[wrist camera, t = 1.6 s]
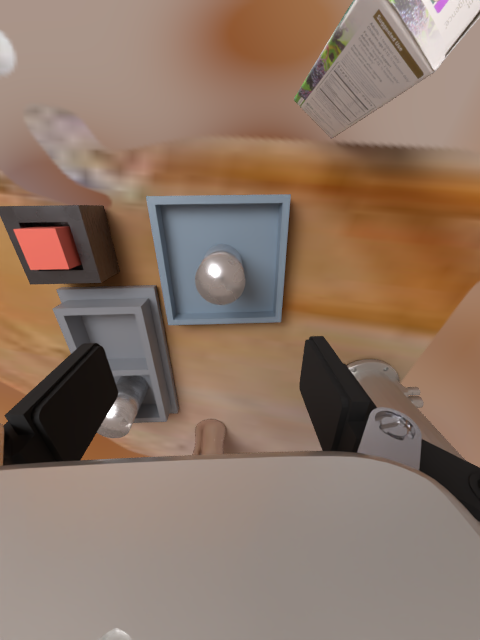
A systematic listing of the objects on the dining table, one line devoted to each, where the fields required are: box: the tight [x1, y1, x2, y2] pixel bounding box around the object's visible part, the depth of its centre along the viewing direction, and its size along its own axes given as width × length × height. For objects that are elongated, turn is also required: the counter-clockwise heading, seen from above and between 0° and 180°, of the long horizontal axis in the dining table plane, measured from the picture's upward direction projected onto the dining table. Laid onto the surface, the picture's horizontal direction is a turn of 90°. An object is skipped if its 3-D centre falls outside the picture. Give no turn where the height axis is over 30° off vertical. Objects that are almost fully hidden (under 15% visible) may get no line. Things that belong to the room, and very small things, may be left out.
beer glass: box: [192, 419, 226, 455], centre depth 39 cm, size 7×7×15 cm
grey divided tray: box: [53, 285, 179, 423], centre depth 35 cm, size 13×24×4 cm, turn 1°
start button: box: [13, 226, 82, 270], centre depth 24 cm, size 4×4×3 cm
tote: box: [146, 195, 291, 325], centre depth 29 cm, size 16×16×3 cm
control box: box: [0, 205, 120, 284], centre depth 27 cm, size 8×8×5 cm
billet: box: [195, 244, 245, 305], centre depth 26 cm, size 5×5×8 cm
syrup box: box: [294, 0, 480, 138], centre depth 17 cm, size 6×6×14 cm
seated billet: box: [97, 375, 149, 438], centre depth 35 cm, size 5×5×8 cm
